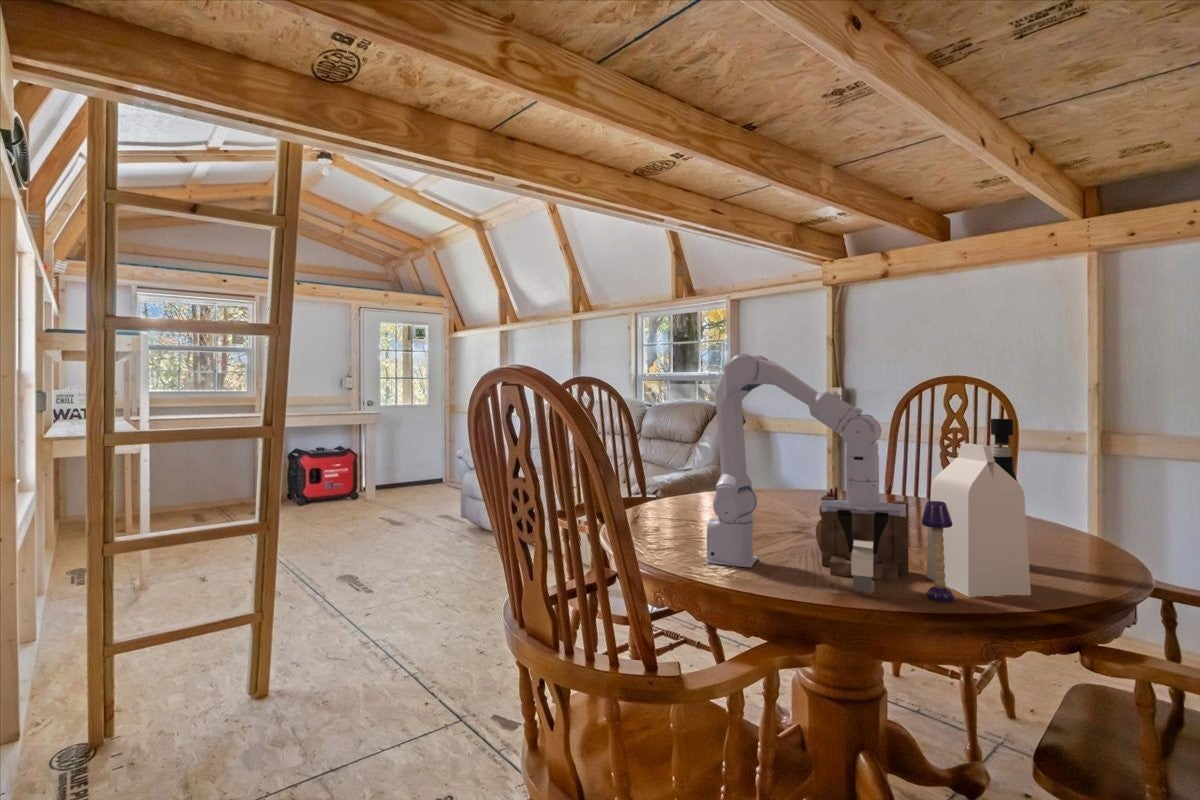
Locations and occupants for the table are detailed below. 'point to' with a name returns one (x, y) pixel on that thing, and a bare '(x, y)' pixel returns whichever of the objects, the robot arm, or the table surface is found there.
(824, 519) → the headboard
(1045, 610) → the table surface
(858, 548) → the beige block
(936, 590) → the toy lamp
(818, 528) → the wooden figurine
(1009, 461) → the wine bottle
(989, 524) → the milk
